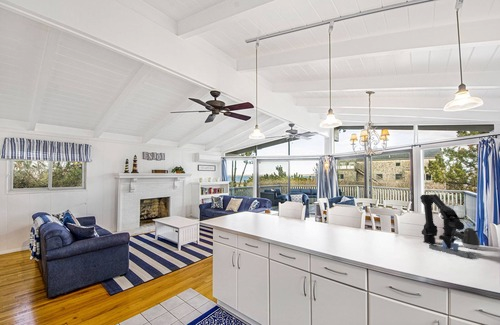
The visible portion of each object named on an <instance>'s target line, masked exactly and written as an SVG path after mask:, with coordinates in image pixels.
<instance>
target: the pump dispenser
mask: <svg viewBox="0 0 500 325" xmlns="http://www.w3.org/2000/svg"><path fill="white" fill-rule="evenodd" d="M463 232H465V234H466V237H465V238H464V239H463V240H461V239H460V240H461V243H462V245H463V246H464V247H465V248H467V249H472V250H476V249H479V248H480V246H481V242H480V238H479V236H478V233H479V232H480V230H475V229H474V228H471V227H466V228H464V229H463Z"/></svg>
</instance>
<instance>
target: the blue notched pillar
mask: <svg viewBox="0 0 500 325" xmlns="http://www.w3.org/2000/svg"><path fill="white" fill-rule="evenodd" d="M441 243H442V245H441V246H443V248H445V249H447V246H446V244H445V242H444V241H443V240H442V241H441ZM451 248H452V249H453V251H458V250H459V243H455V242H454V243H451Z"/></svg>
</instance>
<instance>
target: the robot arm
mask: <svg viewBox="0 0 500 325" xmlns="http://www.w3.org/2000/svg"><path fill="white" fill-rule="evenodd" d="M419 199H420V202H421V203H422V204H423V206H424V207H423V209H424V217H425V223H424V225H423V229H422V230H421V234H422V235H423V243H425V244H426V243H427V244H429V245H430V244H432V245H435V244H436V243H437V242H436V237H437V235H438V231H439V230H438V226H437V225H436V224H435V223H434V217H433V216H434V215H433V207H432V206H433V204H434V205H435V206H436V207H437V208H438V209H439V213H440V215H441V220H443V227H442V229H443V233H442V234H441V235H439V236H438V239H439V240H442V242H443V241H444V242H445V244H446V246H447V247H448V249H450V248H451V243H455V241H456V240H458V239H460V240H463V239H464V238H465V237H466V234H465V232H464V230H465V224H464V222H462V220H461V219H460V217H459V216H458V215H457V212H456V211H455V210H454V209H453V208H452V207H450V206H447V204H446V203H445V202H443V200H442V199H441V198H440V197H439V195H438V194H421V196H420V198H419Z"/></svg>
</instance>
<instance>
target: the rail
mask: <svg viewBox="0 0 500 325" xmlns="http://www.w3.org/2000/svg"><path fill="white" fill-rule="evenodd" d="M428 248H429V249H430V250H432V251H436V252H441V251H442V253H445V252H446V253H445V254H450V255H454V256H458V257H463V258H466V259H468V258H469V259H472V260H473V259H474V258H475V253H473V252H469V251H464V250H460V249H458V251H453V248H450V249H448V247H447V249H445V248H443V246H442V245H438V244H430V243H429V244H428Z"/></svg>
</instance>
